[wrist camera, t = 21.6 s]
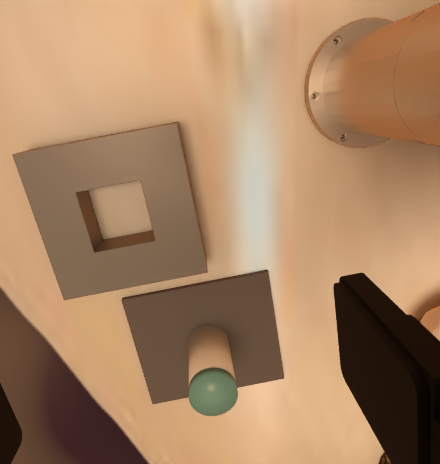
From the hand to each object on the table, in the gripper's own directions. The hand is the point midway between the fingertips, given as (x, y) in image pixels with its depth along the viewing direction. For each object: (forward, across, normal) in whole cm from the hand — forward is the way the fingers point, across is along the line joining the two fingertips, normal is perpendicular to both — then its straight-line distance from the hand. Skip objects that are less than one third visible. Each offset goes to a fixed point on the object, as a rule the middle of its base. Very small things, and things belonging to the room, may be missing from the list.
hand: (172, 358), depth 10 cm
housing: (+33, +8, +3) cm, 34 cm away
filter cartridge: (+33, +2, +22) cm, 39 cm away
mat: (+33, +2, +22) cm, 40 cm away
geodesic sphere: (+34, -29, +27) cm, 52 cm away
